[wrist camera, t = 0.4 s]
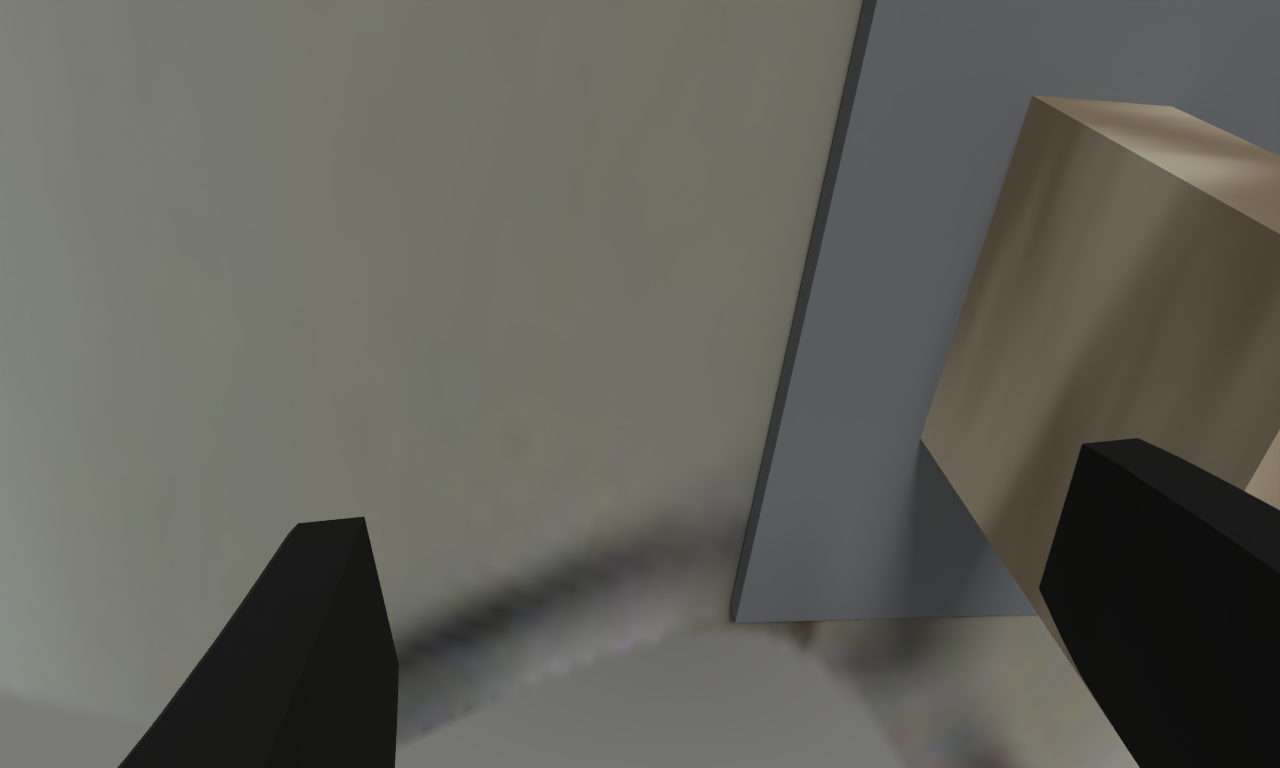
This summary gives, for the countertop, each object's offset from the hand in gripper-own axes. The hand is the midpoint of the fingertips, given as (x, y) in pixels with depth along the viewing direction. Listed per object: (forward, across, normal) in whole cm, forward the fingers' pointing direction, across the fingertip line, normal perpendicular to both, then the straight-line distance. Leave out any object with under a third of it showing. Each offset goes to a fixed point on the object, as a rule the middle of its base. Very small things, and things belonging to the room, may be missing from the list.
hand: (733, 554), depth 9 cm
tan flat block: (+10, -9, +3) cm, 13 cm away
